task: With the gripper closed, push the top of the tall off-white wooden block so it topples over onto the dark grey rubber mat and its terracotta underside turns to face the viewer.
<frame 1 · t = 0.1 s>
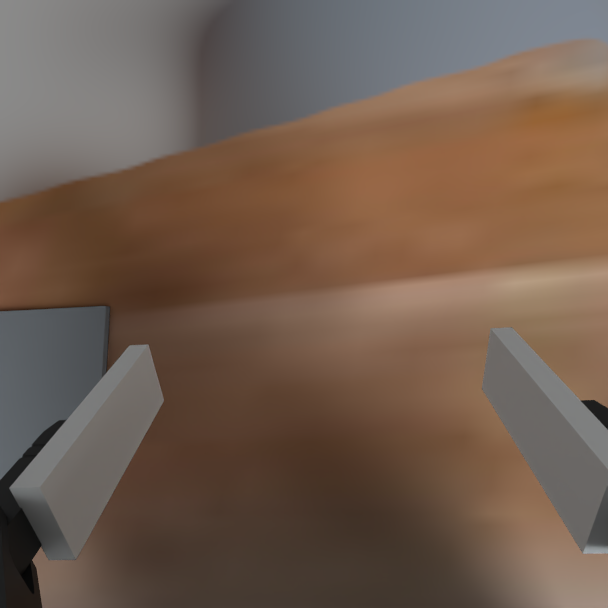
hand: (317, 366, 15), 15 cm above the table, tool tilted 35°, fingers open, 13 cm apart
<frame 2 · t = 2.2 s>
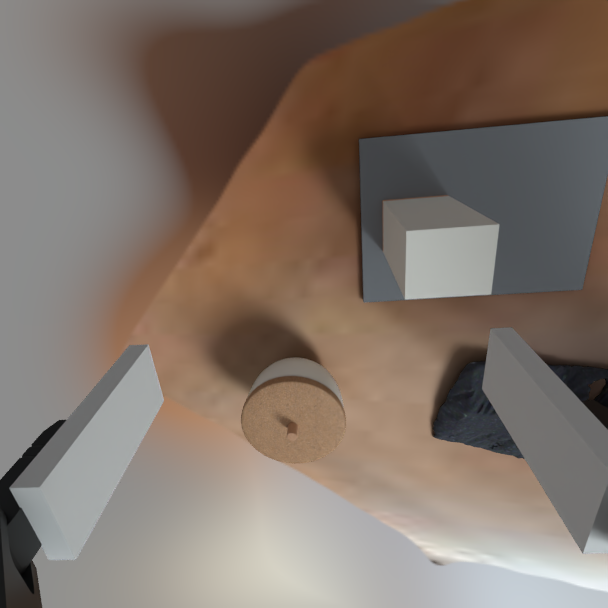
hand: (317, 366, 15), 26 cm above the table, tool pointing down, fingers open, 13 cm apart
mat: (475, 217, 38), on the table
block: (413, 223, 38), point 1 cm above the table, touching mat
lidded jar: (298, 379, 47), on the table
dark slate chunk: (529, 404, 47), on the table
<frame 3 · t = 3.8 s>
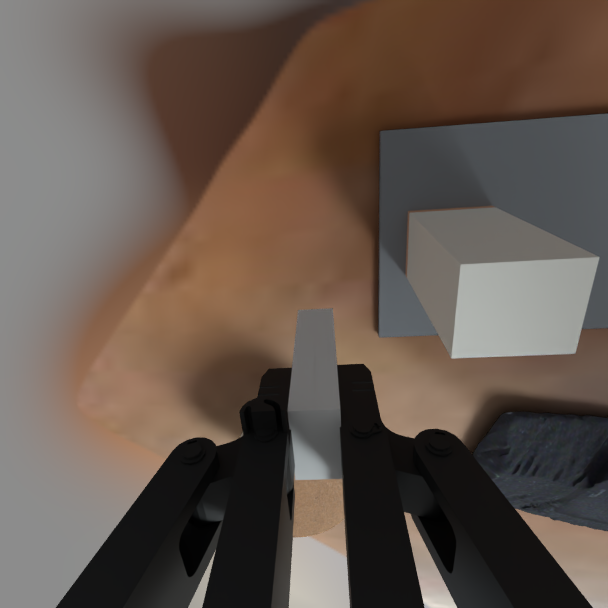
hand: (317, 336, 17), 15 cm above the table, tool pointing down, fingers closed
mat: (525, 235, 30), on the table
block: (447, 241, 29), point 1 cm above the table, touching mat
lidded jar: (295, 425, 39), on the table
dark slate chunk: (570, 458, 39), on the table
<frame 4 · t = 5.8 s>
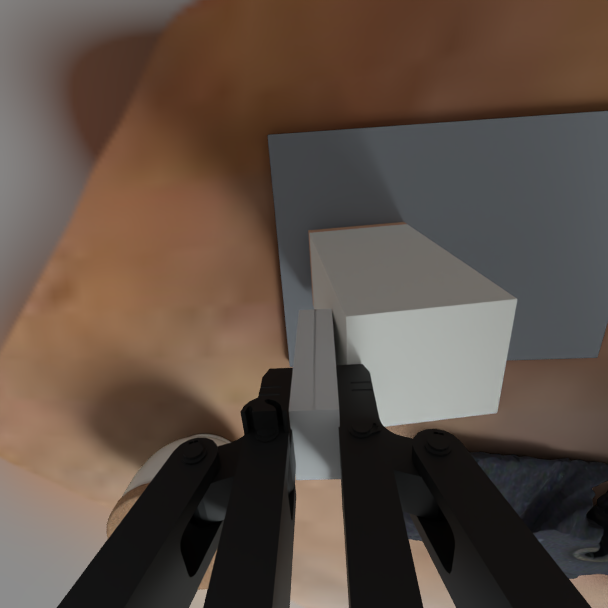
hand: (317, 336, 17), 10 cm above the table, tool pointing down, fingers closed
mat: (446, 254, 26), on the table
block: (356, 264, 25), point 1 cm above the table, tilted 8°, touching gripper, mat
lidded jar: (210, 458, 35), on the table
dark slate chunk: (512, 499, 36), on the table
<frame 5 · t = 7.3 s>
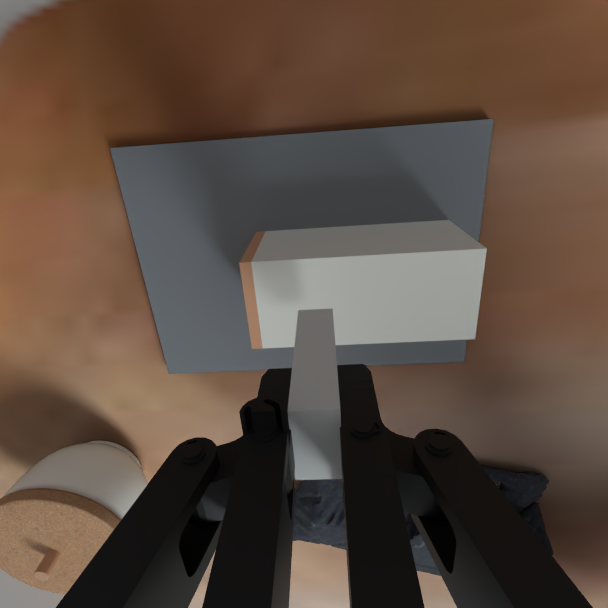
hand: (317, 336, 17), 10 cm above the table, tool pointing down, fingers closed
mat: (306, 263, 26), on the table
block: (254, 286, 23), point 4 cm above the table, tilted 90°, touching mat
lidded jar: (109, 464, 35), on the table
dark slate chunk: (408, 502, 37), on the table
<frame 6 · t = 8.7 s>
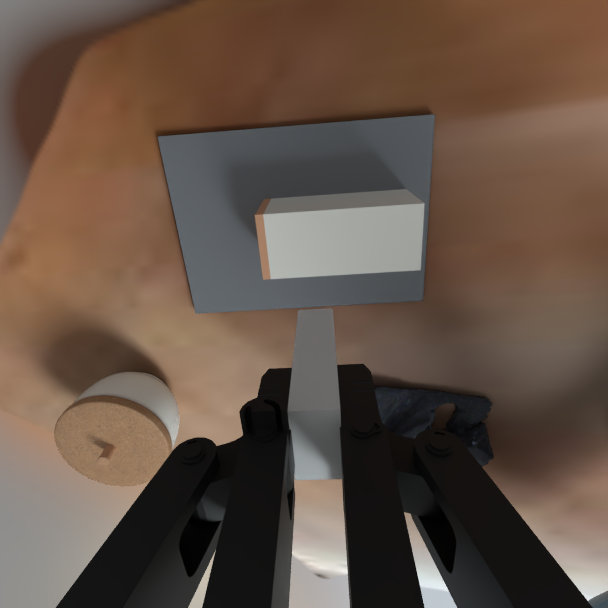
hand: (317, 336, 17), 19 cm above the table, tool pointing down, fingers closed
mat: (301, 223, 35), on the table
block: (263, 237, 32), point 4 cm above the table, tilted 90°, touching mat
lidded jar: (144, 393, 44), on the table
dark slate chunk: (383, 425, 46), on the table
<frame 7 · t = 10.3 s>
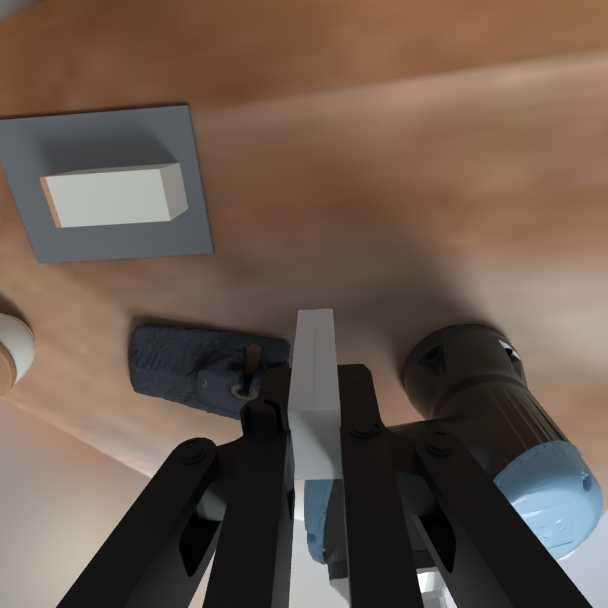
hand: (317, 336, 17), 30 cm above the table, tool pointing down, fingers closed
mat: (108, 190, 45), on the table
block: (65, 197, 42), point 4 cm above the table, tilted 90°, touching mat
lidded jar: (12, 333, 54), on the table
dark slate chunk: (211, 366, 56), on the table
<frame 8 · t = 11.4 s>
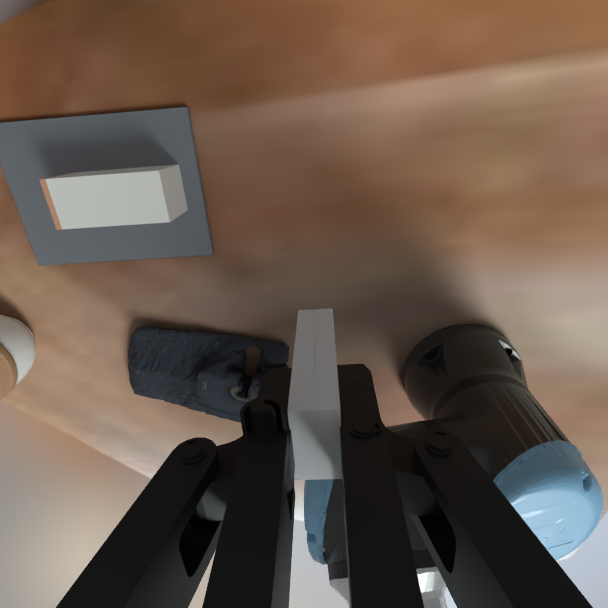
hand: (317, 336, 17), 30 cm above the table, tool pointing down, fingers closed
mat: (108, 192, 45), on the table
block: (65, 199, 42), point 4 cm above the table, tilted 90°, touching mat
lidded jar: (13, 335, 54), on the table
dark slate chunk: (210, 368, 56), on the table
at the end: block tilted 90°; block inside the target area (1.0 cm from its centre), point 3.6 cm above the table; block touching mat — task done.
